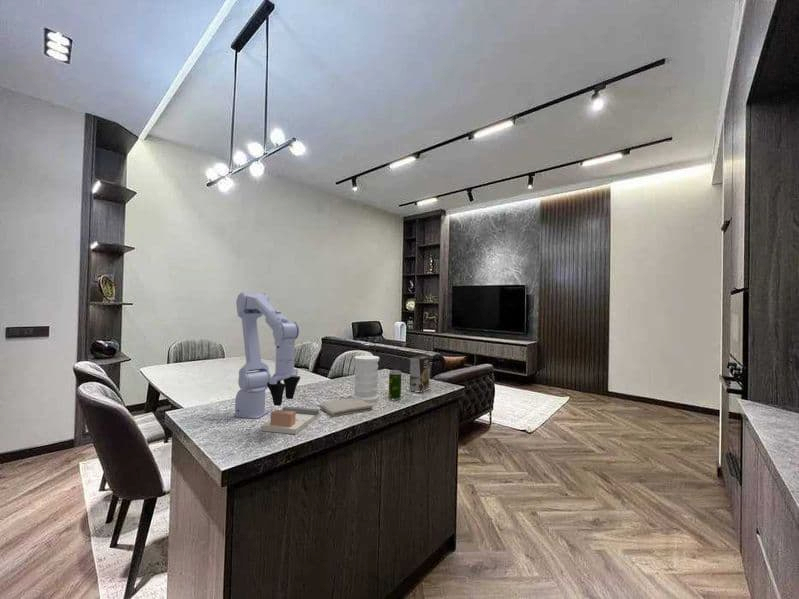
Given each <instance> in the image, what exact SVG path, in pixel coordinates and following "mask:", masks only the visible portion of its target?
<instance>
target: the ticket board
mask: <svg viewBox="0 0 799 599" xmlns="http://www.w3.org/2000/svg"><path fill="white" fill-rule="evenodd" d="M281 410H283V411H294V412H296V416H295V421H303V422H306V427H307V426H309V425H310V424H311V423H313V422H314V421H315V420H316V419H317V418H319V417H320V416H321V414H322V413H321V412H322V411H321V410H320V409H318V408H309V407H308V408H307V407H306V408H305V407H297V406H296V407H295V406H286V405H285V406H282V409H281Z"/></svg>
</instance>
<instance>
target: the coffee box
mask: <svg viewBox="0 0 799 599" xmlns="http://www.w3.org/2000/svg"><path fill="white" fill-rule="evenodd" d="M430 371H431V356H423V355H418V356H412V357H410V367H409V387H408V388H409V389H408V390H413V391H419V392H421V391H424V390H426V389H428V388H429V389H430V380H431V379H430V373H431V372H430Z"/></svg>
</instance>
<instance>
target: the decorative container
mask: <svg viewBox="0 0 799 599" xmlns="http://www.w3.org/2000/svg"><path fill="white" fill-rule="evenodd" d="M379 361H380V356H377V355H364V354H363V355H361V354H360V355H356V356H354V362H355V364H354V368H355V369H354V370H355V372H354V381H353V382H354V388H353V389H354V390H353V391H354V394H352V396H351V399H356V398H360V399H362V400H364V401H365V402H370V403H374V402H373V401H375V402H377V400H378V399H380V395H379V394H377V393H378V383H379V381H378V375H379V372H378V369H379V364H378V363H379ZM378 401H379V400H378Z"/></svg>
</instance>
